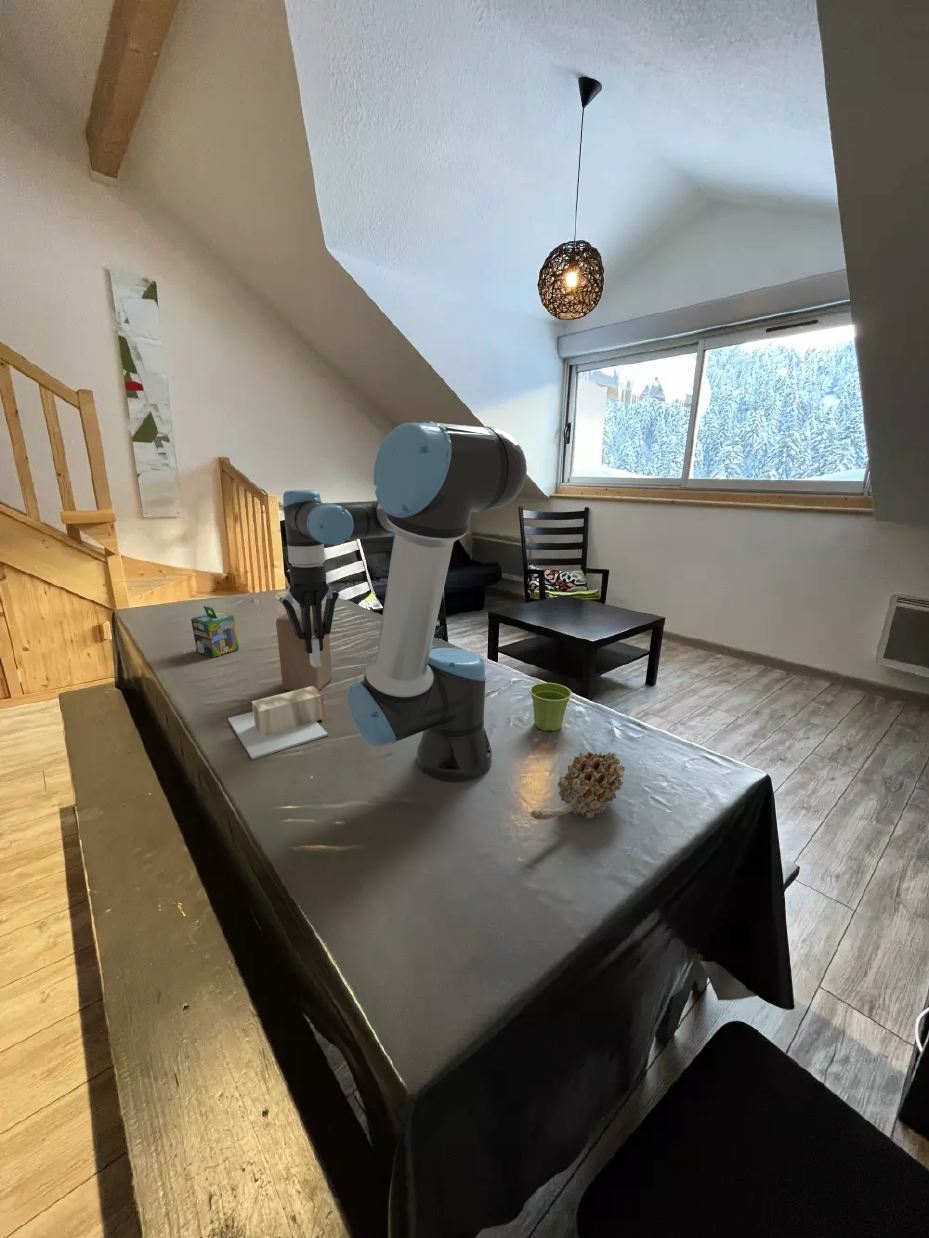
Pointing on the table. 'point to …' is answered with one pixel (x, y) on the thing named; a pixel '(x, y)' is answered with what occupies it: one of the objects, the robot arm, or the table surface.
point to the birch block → (288, 710)
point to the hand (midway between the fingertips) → (315, 664)
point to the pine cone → (587, 785)
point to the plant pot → (549, 705)
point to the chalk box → (214, 633)
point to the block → (301, 657)
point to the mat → (272, 736)
